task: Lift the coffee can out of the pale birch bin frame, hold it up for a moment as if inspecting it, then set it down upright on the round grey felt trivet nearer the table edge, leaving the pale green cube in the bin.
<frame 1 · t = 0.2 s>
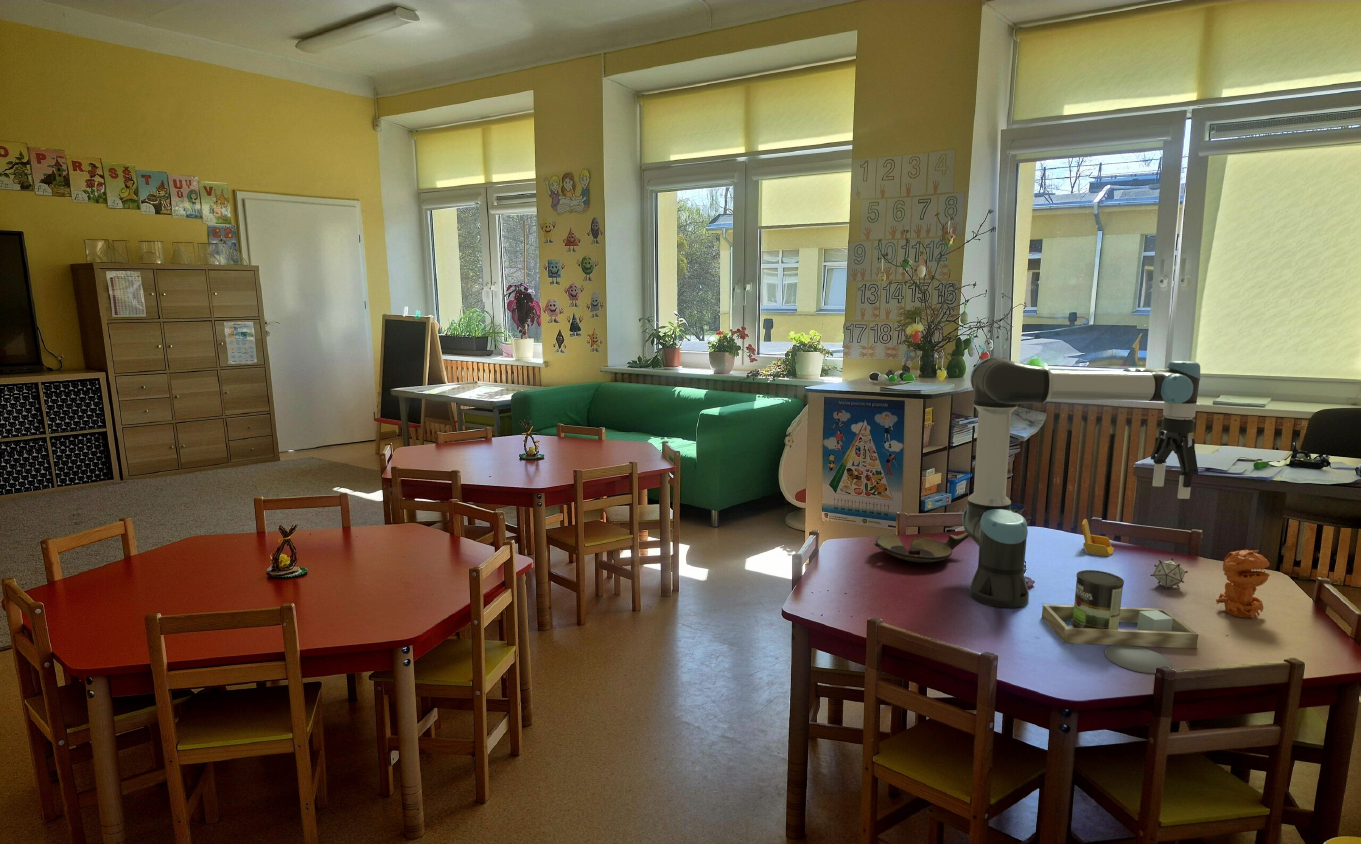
hand: (1170, 492, 217), 28 cm above the table, fingers open, 13 cm apart
game die: (1167, 587, 222), on the table
toy dinosaur: (1239, 614, 203), on the table
oil lamp: (922, 560, 244), on the table
pale green cube: (1153, 634, 191), resting in bin frame
coffee can: (1094, 632, 192), resting in bin frame
trivet: (1137, 659, 177), on the table
bin frame: (1115, 632, 192), on the table
yellow toy chair: (1096, 551, 254), on the table
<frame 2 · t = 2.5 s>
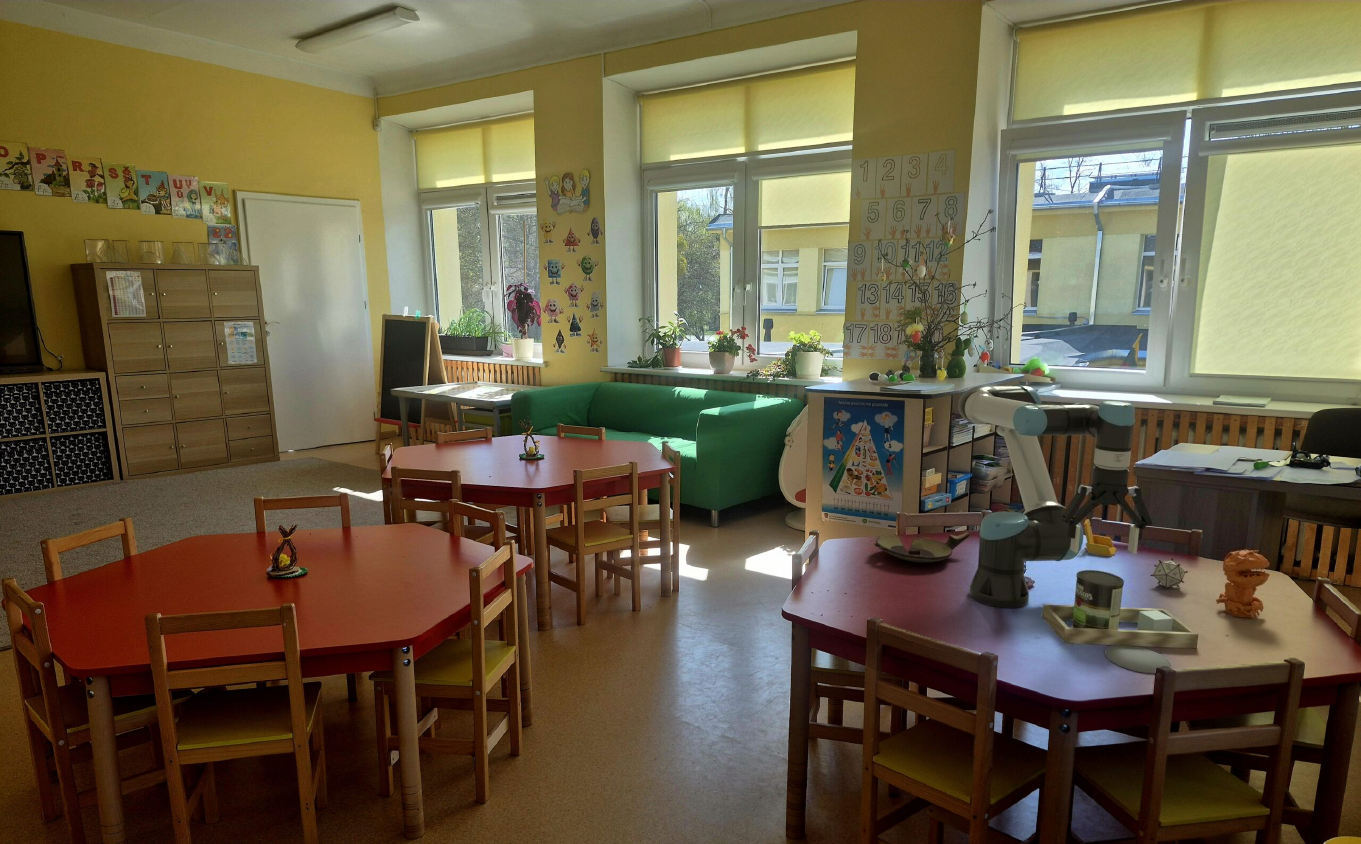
hand: (1102, 551, 189), 21 cm above the table, fingers open, 13 cm apart
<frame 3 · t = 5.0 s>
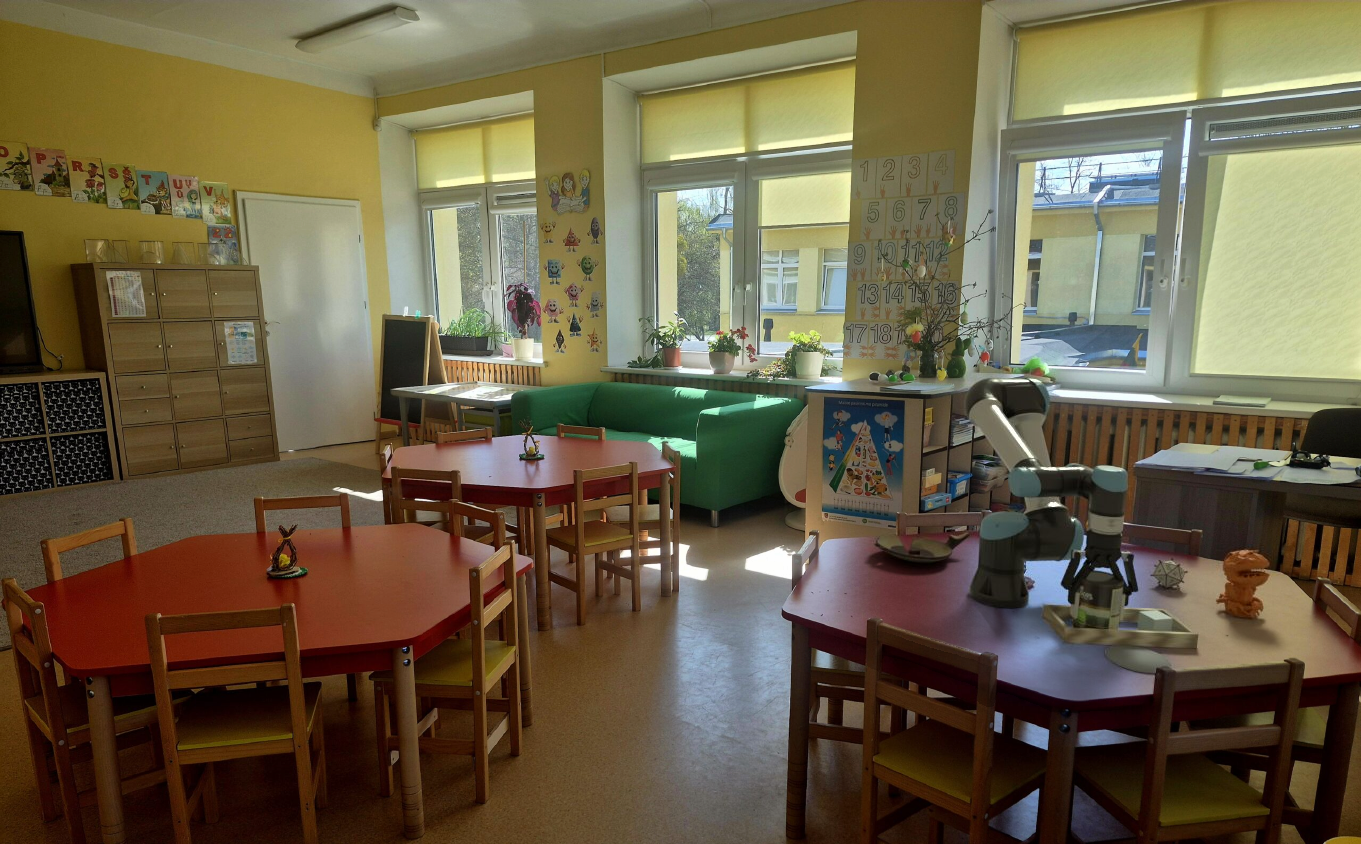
hand: (1096, 616, 192), 4 cm above the table, fingers closed on coffee can, 10 cm apart
coffee can: (1094, 632, 192), resting in bin frame, touching gripper
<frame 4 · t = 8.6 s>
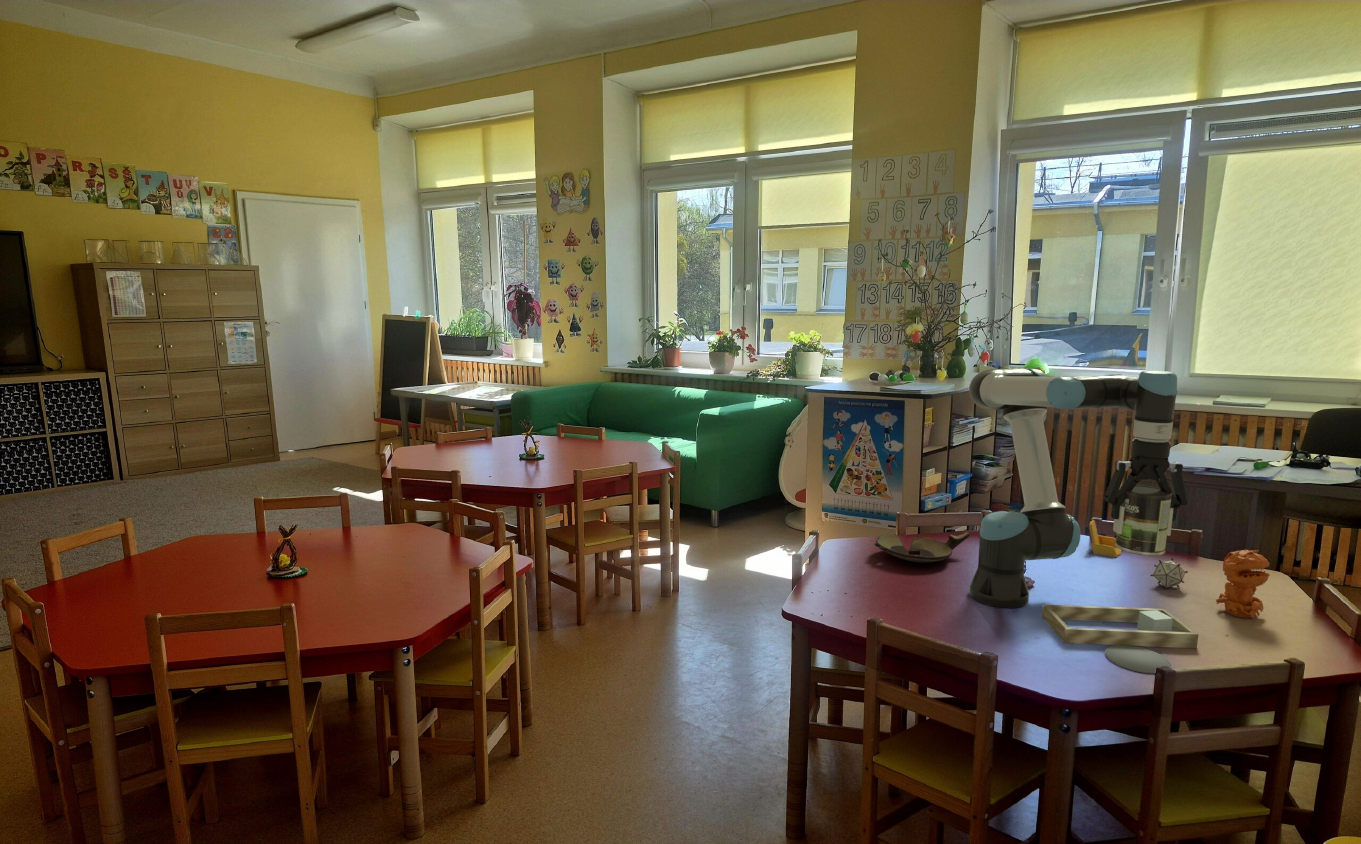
hand: (1141, 533, 180), 28 cm above the table, fingers closed on coffee can, 10 cm apart
coffee can: (1139, 549, 181), point 24 cm above the table, touching gripper
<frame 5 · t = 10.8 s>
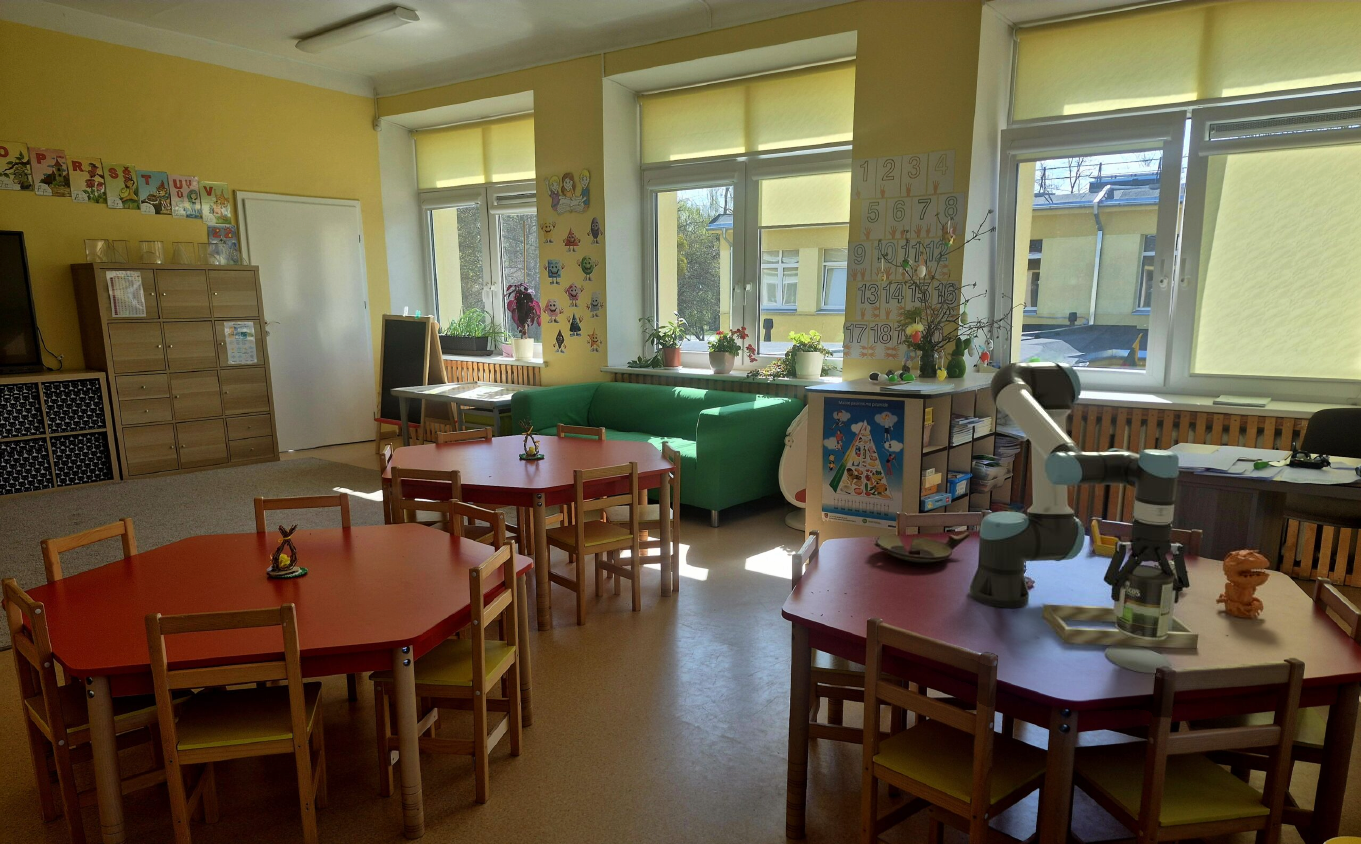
hand: (1142, 615, 175), 11 cm above the table, fingers closed on coffee can, 10 cm apart
coffee can: (1141, 631, 176), point 7 cm above the table, touching gripper
when the fingers open (6 cm above the table, at t = 12.7 s): coffee can drops 1 cm, resting on trivet.
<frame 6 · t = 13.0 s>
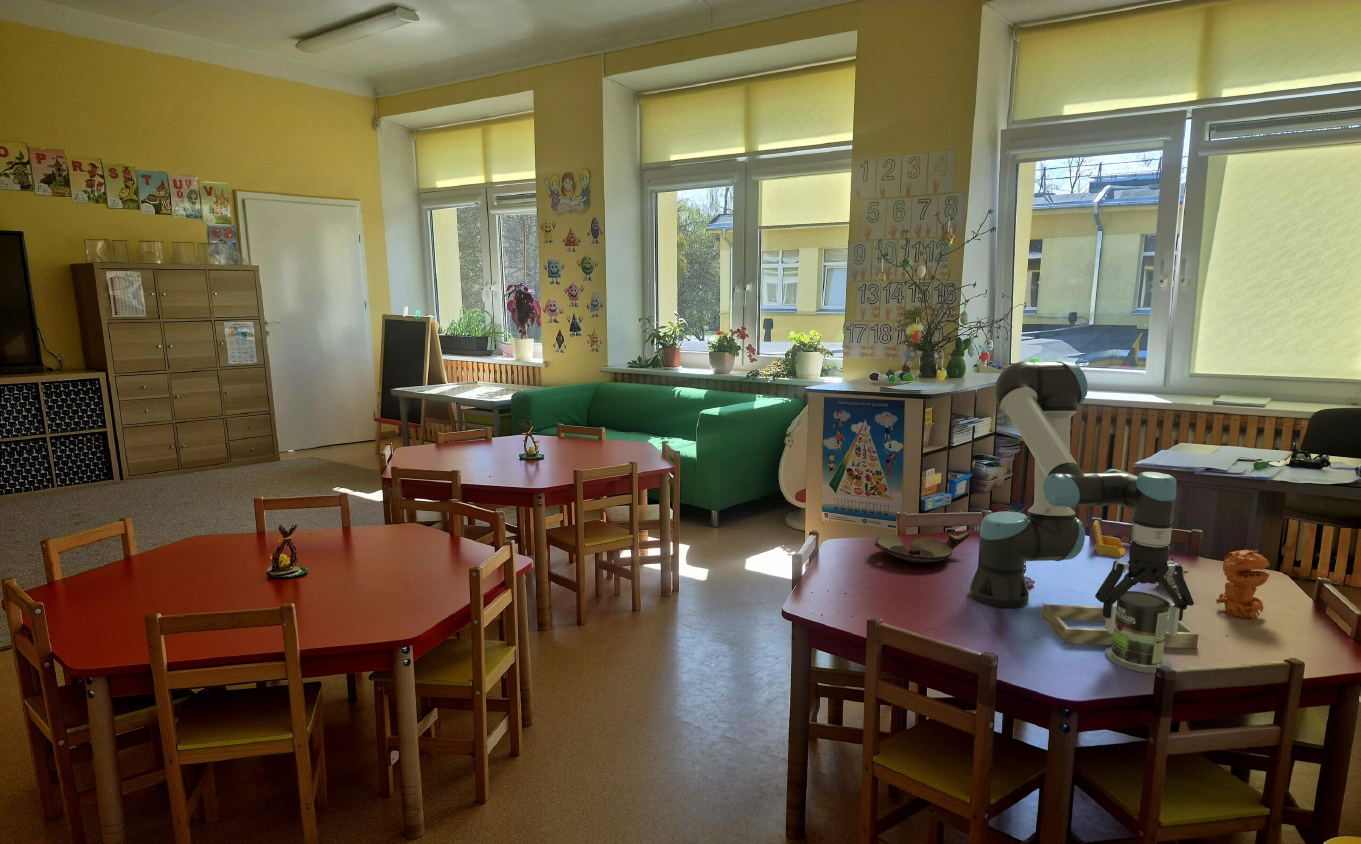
hand: (1140, 632, 176), 7 cm above the table, fingers open, 13 cm apart
coffee can: (1136, 658, 177), resting on trivet
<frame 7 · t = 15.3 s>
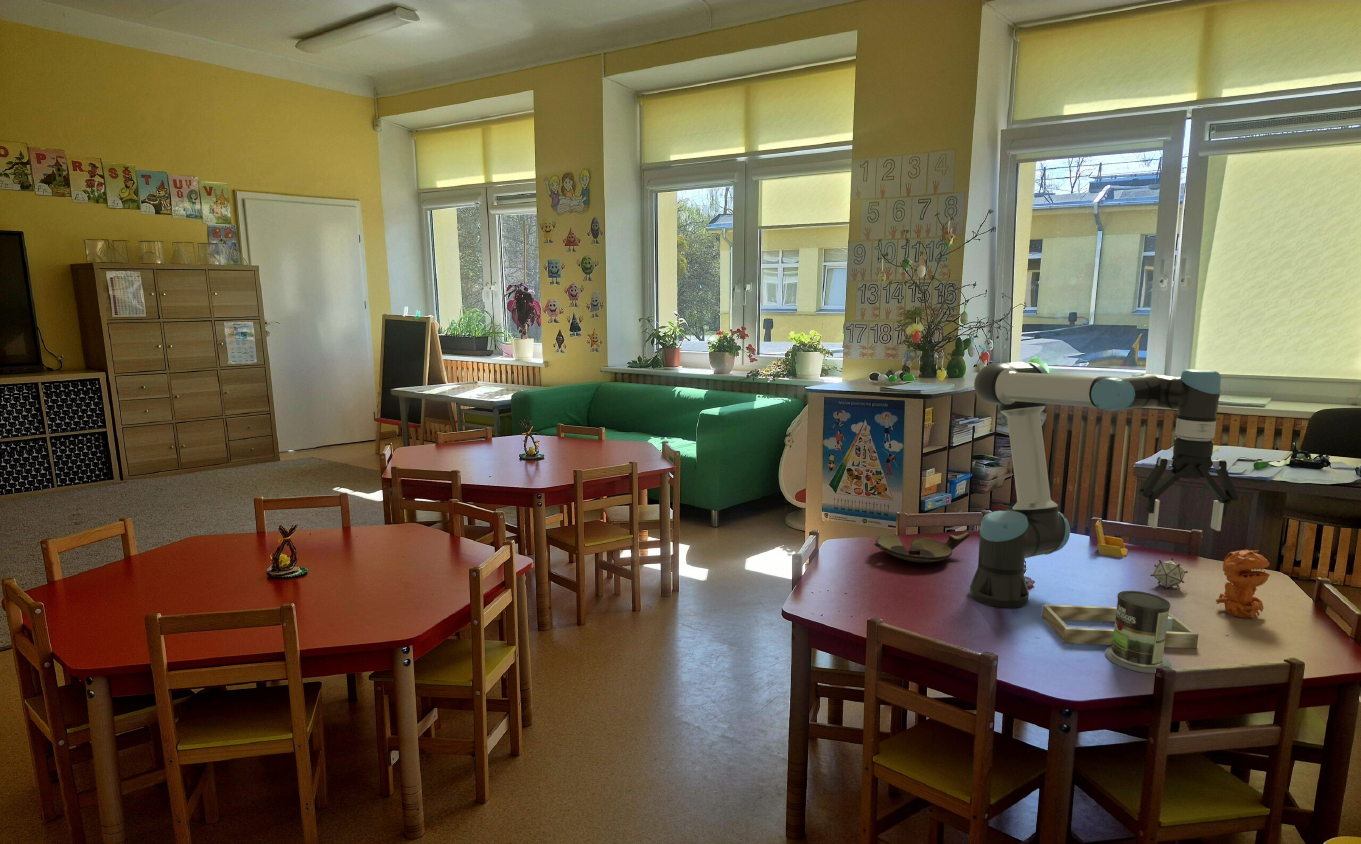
hand: (1183, 527, 180), 29 cm above the table, fingers open, 13 cm apart
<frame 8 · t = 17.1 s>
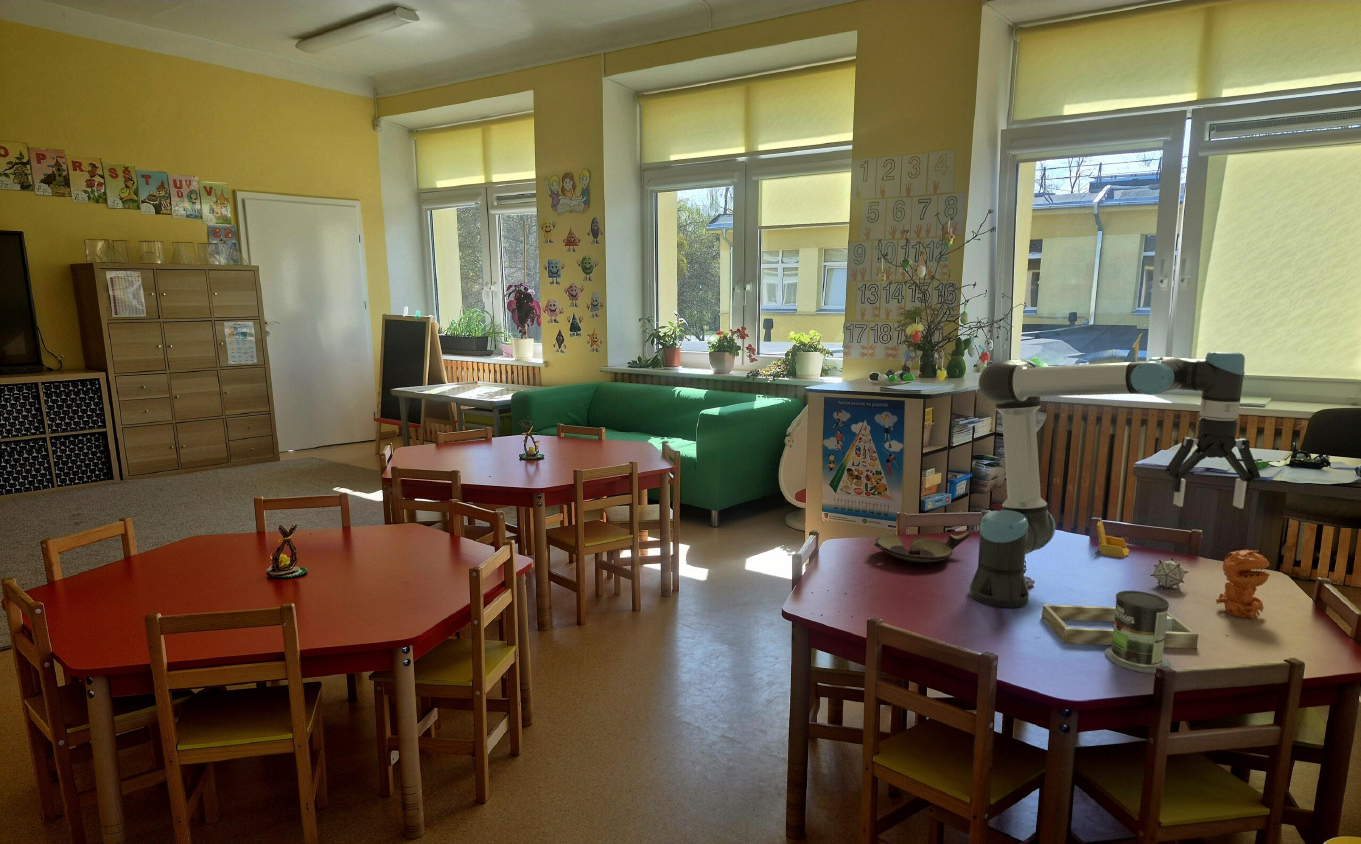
hand: (1207, 506, 185), 33 cm above the table, fingers open, 13 cm apart
at the end: coffee can 0.2 cm from the trivet (horizontally); coffee can tilted 1°; the gripper is holding nothing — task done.
